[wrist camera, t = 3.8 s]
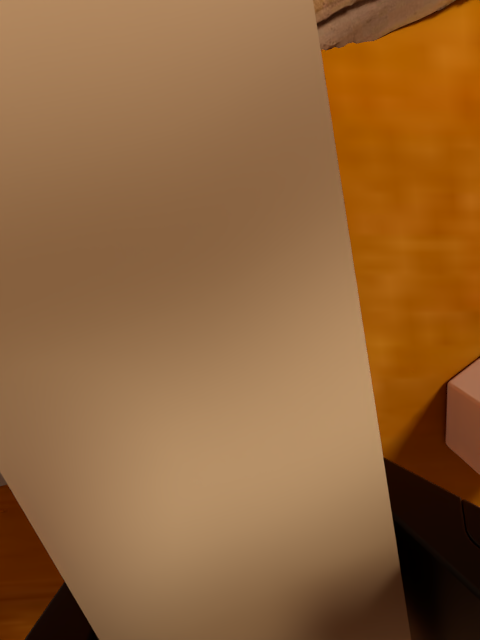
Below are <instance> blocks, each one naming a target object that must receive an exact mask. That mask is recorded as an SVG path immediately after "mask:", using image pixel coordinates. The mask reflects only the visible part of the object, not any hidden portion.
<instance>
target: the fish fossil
mask: <svg viewBox="0 0 480 640" xmlns="http://www.w3.org/2000/svg"><path fill="white" fill-rule="evenodd" d="M454 1H455V0H313V4H314V10H315V17H316V23H317V30H318V36H319V43H320V49H324V50H328V49H332V48H333V47H338V48H340V47H343V46H345V45H346V44H347V43H352V42H354V43H361V42H367V41H374V40H377V39H379V38H381V37H382V36H384V35H386V34H387V33H389V32H391V31H393V30H395V29H397V28H400V27H402V26H404V25H406V24H409V23H411V22H414V21H417V20H419V19H421V18H423V17H425V16H427V15H429V14H431V13H433V12H435V11H438V10H442V9H443V8H445V7H446V6H447V5H449V4H450V3H452V2H454Z"/></svg>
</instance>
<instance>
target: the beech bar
mask: <svg viewBox="0 0 480 640" xmlns="http://www.w3.org/2000/svg"><path fill="white" fill-rule="evenodd" d="M0 472H1V474H2V476H3V477H4V479H5V481H6V483H7V484H8V486H9V488H10V489H11V491H12V493H13V494H14V496H15V498H16V500H17V501H18V503H19V505H20V506H21V508H22V510H23V511H24V513H25V515H26V516H27V518H28V520H29V522H30V523H31V525H32V527H33V528H34V530H35V532H36V533H37V535H38V537H39V539H40V540H41V542H42V544H43V545H44V547H45V549H46V550H47V552H48V554H49V555H50V557H51V559H52V561H53V562H54V564H55V566H56V567H57V569H58V571H59V572H60V574H61V576H62V578H63V579H64V581H65V583H66V584H67V586H68V588H69V589H70V591H71V593H72V594H73V596H74V598H75V600H76V601H77V603H78V605H79V606H80V608H81V610H82V611H83V613H84V615H85V617H86V618H87V620H88V622H89V623H90V625H91V627H92V628H93V630H94V632H95V633H96V635H97V637H98V639H99V640H411V635H410V629H409V622H408V616H407V609H406V603H405V596H404V590H403V583H402V577H401V570H400V564H399V557H398V551H397V544H396V538H395V531H394V525H393V518H392V512H391V505H390V499H389V492H388V486H387V479H386V473H385V466H384V460H383V453H382V447H381V440H380V433H379V427H378V420H377V414H376V407H375V401H374V394H373V388H372V381H371V375H370V368H369V362H368V355H367V349H366V342H365V336H364V329H363V323H362V316H361V310H360V303H359V297H358V290H357V284H356V277H355V271H354V264H353V258H352V251H351V245H350V238H349V232H348V225H347V219H346V212H345V206H344V199H343V193H342V186H341V180H340V173H339V167H338V160H337V154H336V147H335V140H334V134H333V127H332V121H331V114H330V108H329V101H328V95H327V88H326V82H325V75H324V69H323V62H322V56H321V49H320V43H319V36H318V30H317V23H316V17H315V10H314V4H313V0H0Z"/></svg>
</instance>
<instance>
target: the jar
mask: <svg viewBox="0 0 480 640" xmlns="http://www.w3.org/2000/svg"><path fill="white" fill-rule="evenodd" d="M445 442H446V445H447V446H448V447H449V448H450V449H451V450H452V451H453V452H455V453H456V454H457V455H458V456H459V457H460V458H461V459H462V460H463V461H465V462H466V463H467V464H468V465H469V466H470V467H471V468H472V469H473V470H475V471H476V472H477V473H478V474H479V475H480V358H479V359H477V360H476V361H475V362H473V363H472V364H471V365H470V366H468V367H467V368H466V369H464V370H463V371H462V372H460V373H459V374H458V375H457V376H455V377H454V378H453V379H451V380H450V381H449V382H448V384H447V410H446V441H445Z"/></svg>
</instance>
